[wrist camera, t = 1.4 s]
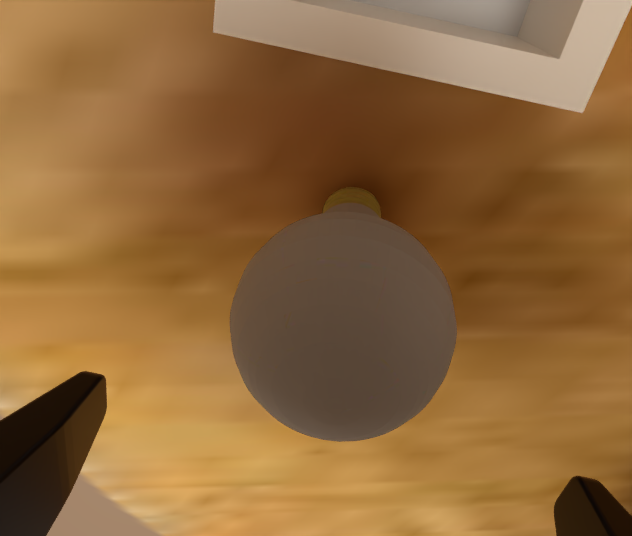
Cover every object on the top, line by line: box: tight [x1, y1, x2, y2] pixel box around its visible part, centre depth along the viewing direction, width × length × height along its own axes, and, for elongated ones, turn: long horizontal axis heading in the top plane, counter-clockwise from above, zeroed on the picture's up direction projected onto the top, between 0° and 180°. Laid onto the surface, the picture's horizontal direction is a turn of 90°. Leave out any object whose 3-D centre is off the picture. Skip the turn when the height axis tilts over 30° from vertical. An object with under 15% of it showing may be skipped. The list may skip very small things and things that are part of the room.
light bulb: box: [230, 187, 457, 441], centre depth 15 cm, size 6×6×10 cm
